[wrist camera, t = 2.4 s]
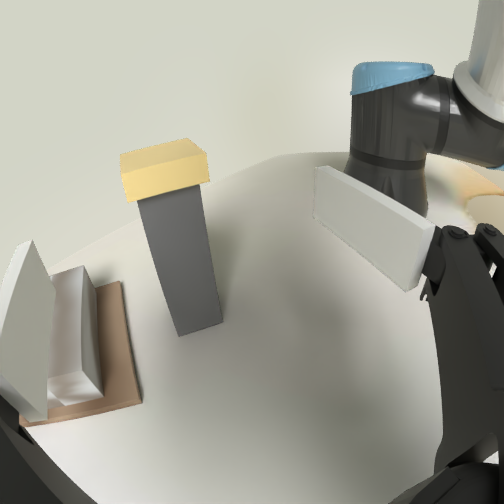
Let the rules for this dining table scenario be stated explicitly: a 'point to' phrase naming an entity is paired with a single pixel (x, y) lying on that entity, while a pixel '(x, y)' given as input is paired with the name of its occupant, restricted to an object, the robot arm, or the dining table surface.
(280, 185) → the dining table surface
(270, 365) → the dining table surface
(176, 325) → the plug
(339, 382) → the dining table surface
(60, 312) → the socket
